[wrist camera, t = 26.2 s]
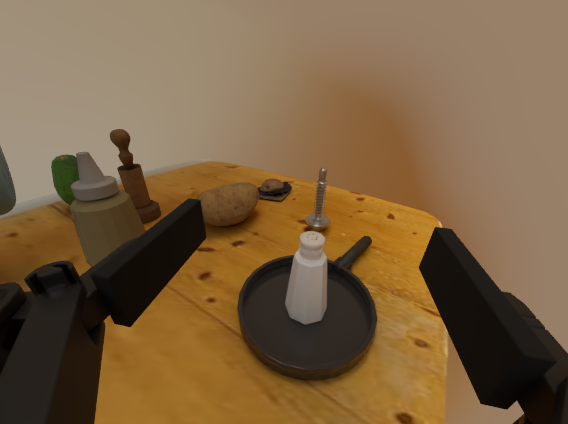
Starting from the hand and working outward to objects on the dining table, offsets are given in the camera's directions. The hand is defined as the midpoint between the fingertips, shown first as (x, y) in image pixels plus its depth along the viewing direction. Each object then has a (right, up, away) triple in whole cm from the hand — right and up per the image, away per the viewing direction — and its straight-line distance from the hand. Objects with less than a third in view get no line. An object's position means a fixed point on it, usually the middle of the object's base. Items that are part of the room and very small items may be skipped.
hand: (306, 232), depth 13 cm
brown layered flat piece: (-4, +6, +50) cm, 50 cm away
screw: (+5, -2, +34) cm, 35 cm away
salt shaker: (+1, -11, +17) cm, 20 cm away
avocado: (-47, +2, +41) cm, 62 cm away
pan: (+1, -11, +17) cm, 21 cm away
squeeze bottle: (-26, -8, +23) cm, 35 cm away
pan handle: (+10, -6, +25) cm, 28 cm away
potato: (-12, -1, +36) cm, 38 cm away
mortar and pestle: (-32, 0, +37) cm, 49 cm away
